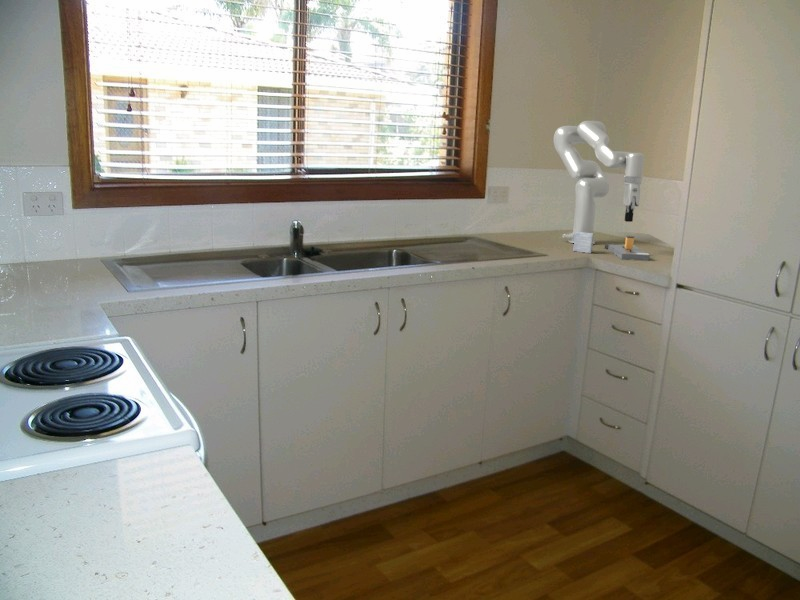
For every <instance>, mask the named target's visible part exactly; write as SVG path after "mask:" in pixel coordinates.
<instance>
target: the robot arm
mask: <svg viewBox="0 0 800 600" xmlns="http://www.w3.org/2000/svg"><path fill="white" fill-rule="evenodd" d="M610 141H611V139H610V136H609V135H608V134H607V128H606V125H605V124H604V123H603V122H602V121H597V120H584V121H582V122H580V123H579V124H578V125H563V126H559V127H557V129H556V130H555V132H554V135H553V147H554V149H555V151H556V152H557V154H558V156H559V157H560V159H561V161H562V162H563V164H564V166H565V168H566V170H567V173H568V174H569V176H570V177H571V178H572V179H574V180H577V182H575V183H576V184H575V187H574V188H575V189H574V193H575V206H574V217H573V218H574V219H573V224H572V225H573V228H572V232H570V233H569V234H568V233H563V234H562V238H563V239H568V243H571V244H573V243H574V237H575V233H576V232H583V233H592V234H594V226H595V216H596V202H595V198H599V199H600V198H604V197H606V196H607V195H608V193H609V191H610V184H609V181H608V180H607V178H606V175H605V173H604V172H603V170H602V168H601V167H600V165H599V164H598V163H597V162H596V161H594V160H590V159H583V158H582V157H581V155H580V152H579V151H578V149H577V148H576V147H575V146H573V145H574V144H576V145H577V144H579V145H580V144H586V143H587V144H588V145H589V146H590V147H592V149H594V154H595V157H596V159H597V160H599V162H600V163H602V165H604V166H605V167H607V168H609V169H624V176H623V177H624V179H623V184H625V185H624V192H623V198H622V199H623V201H622V203H623V205H625V211H624V213H625V214H624V221H625V222H626V223H627V222H633V219H634V212H635V209H636V207H639V206H640V201H641V197H640V196H641V185H642V180H643V172H644V162H645V154H643V153H641V152H630V151H617V150H616V151H615V150H614V151H613V150H612V149H611V148H610V147H609V146H608V145H609V143H610ZM595 244H596V241H595V240H593V245H595Z"/></svg>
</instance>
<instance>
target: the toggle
mask: <svg viewBox="0 0 800 600" xmlns="http://www.w3.org/2000/svg"><path fill="white" fill-rule="evenodd" d="M634 241H635V236H633V235H626V236H625V242H624V245H625V249H627V250H628V251H629V252H630V250H631V249H633V245H634Z"/></svg>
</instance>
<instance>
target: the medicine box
mask: <svg viewBox="0 0 800 600" xmlns="http://www.w3.org/2000/svg"><path fill="white" fill-rule="evenodd" d="M594 236H595V235H594V233H593V234H592V233H583V232H576V233H575V237H574V244H573V246H572V247H573V248H572V252H573V251H577V252H576V253H582V252H585V254H592V252H593V245H594V244H593V241H594Z"/></svg>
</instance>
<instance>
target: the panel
mask: <svg viewBox="0 0 800 600" xmlns="http://www.w3.org/2000/svg"><path fill="white" fill-rule="evenodd" d="M608 245H609V246H608V249H607V250H608V251H609V250H610V251H609V252H611V253H612V254H613V253H614V255H615V256H616V255H617V258H619V259H621V260H628V259H634V260H633V261H648V260H649V261H650V257H651V255H650V254H649V253H647V252H646V251H644V250H643V249H640V248H639V247H637V246H636V245H634V244H633V249H631V250H630V252H629V251H628V250H627V249H625V244H623V245H622V244H608Z"/></svg>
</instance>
